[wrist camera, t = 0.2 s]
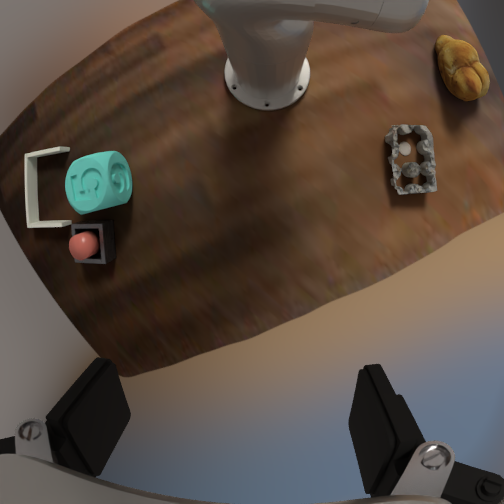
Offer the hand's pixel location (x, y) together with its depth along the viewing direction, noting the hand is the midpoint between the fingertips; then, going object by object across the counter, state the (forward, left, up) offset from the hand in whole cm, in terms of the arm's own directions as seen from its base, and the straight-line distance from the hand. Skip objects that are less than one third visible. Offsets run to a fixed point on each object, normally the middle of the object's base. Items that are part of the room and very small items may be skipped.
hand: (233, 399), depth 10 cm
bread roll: (-30, +34, -37) cm, 58 cm away
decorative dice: (-8, -24, -37) cm, 45 cm away
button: (+2, -28, -33) cm, 43 cm away
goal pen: (-8, -38, -36) cm, 53 cm away
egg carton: (-12, +23, -37) cm, 45 cm away
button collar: (+2, -27, -36) cm, 46 cm away
